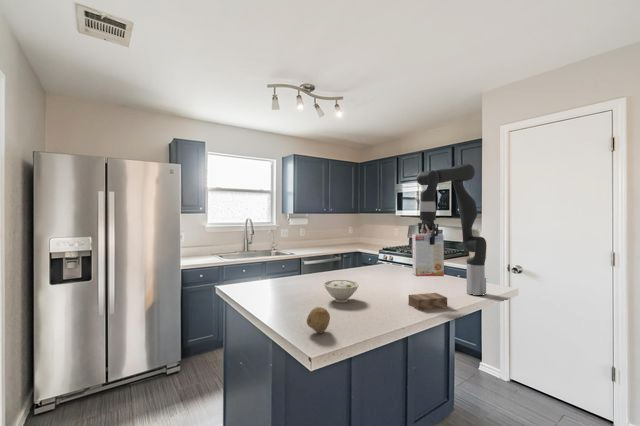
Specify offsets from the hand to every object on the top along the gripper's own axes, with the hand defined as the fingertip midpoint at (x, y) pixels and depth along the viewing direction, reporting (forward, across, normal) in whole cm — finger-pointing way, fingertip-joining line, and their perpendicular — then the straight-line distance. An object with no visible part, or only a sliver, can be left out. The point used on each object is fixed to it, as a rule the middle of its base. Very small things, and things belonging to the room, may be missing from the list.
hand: (427, 243), depth 149 cm
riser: (+31, 0, 0) cm, 31 cm away
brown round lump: (+31, +19, -61) cm, 71 cm away
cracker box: (+16, 0, 0) cm, 16 cm away
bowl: (+31, -20, -39) cm, 54 cm away
